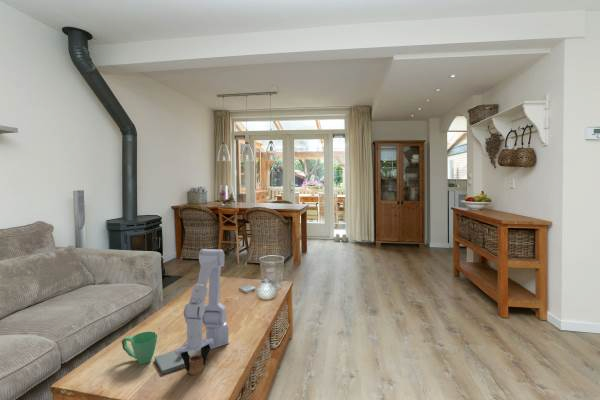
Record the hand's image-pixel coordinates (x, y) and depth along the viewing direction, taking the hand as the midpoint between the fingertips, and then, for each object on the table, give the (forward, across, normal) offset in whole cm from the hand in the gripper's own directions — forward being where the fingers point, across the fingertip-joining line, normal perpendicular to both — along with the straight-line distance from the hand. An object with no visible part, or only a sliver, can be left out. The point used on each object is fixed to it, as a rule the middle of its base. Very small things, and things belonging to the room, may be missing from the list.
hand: (195, 367), depth 126 cm
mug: (+2, -16, +21) cm, 26 cm away
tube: (+1, 0, 0) cm, 1 cm away
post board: (+1, -2, +11) cm, 11 cm away
